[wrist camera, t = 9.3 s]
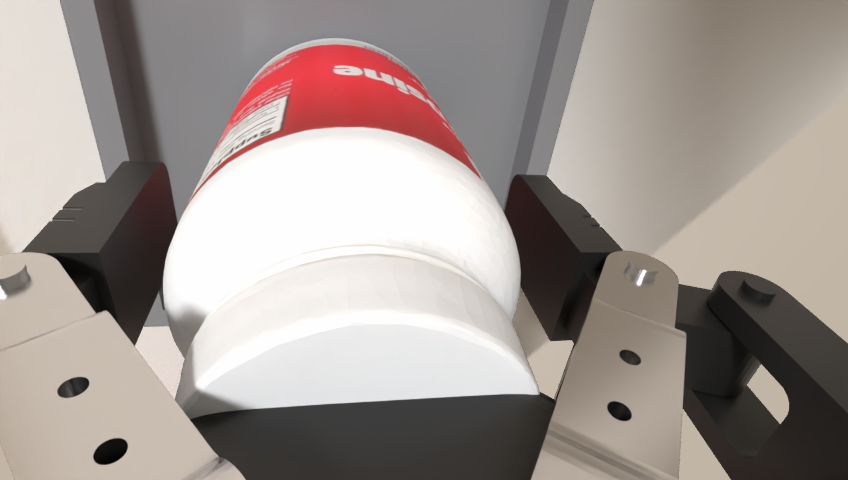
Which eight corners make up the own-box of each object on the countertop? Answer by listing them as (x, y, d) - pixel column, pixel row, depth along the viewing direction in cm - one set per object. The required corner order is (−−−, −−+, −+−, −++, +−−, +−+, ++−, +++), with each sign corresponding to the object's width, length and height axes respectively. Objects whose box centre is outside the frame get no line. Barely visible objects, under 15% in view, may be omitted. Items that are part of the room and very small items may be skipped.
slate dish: (56, -161, 11) (14, -174, 9) (583, -81, 14) (615, -81, 12) (158, 292, 18) (143, 326, 16) (495, 286, 20) (508, 315, 19)
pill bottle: (474, 145, 16) (672, 435, 7) (338, 253, 17) (355, 615, 8) (343, -20, 13) (394, 124, 4) (190, 130, 14) (-47, 499, 5)
